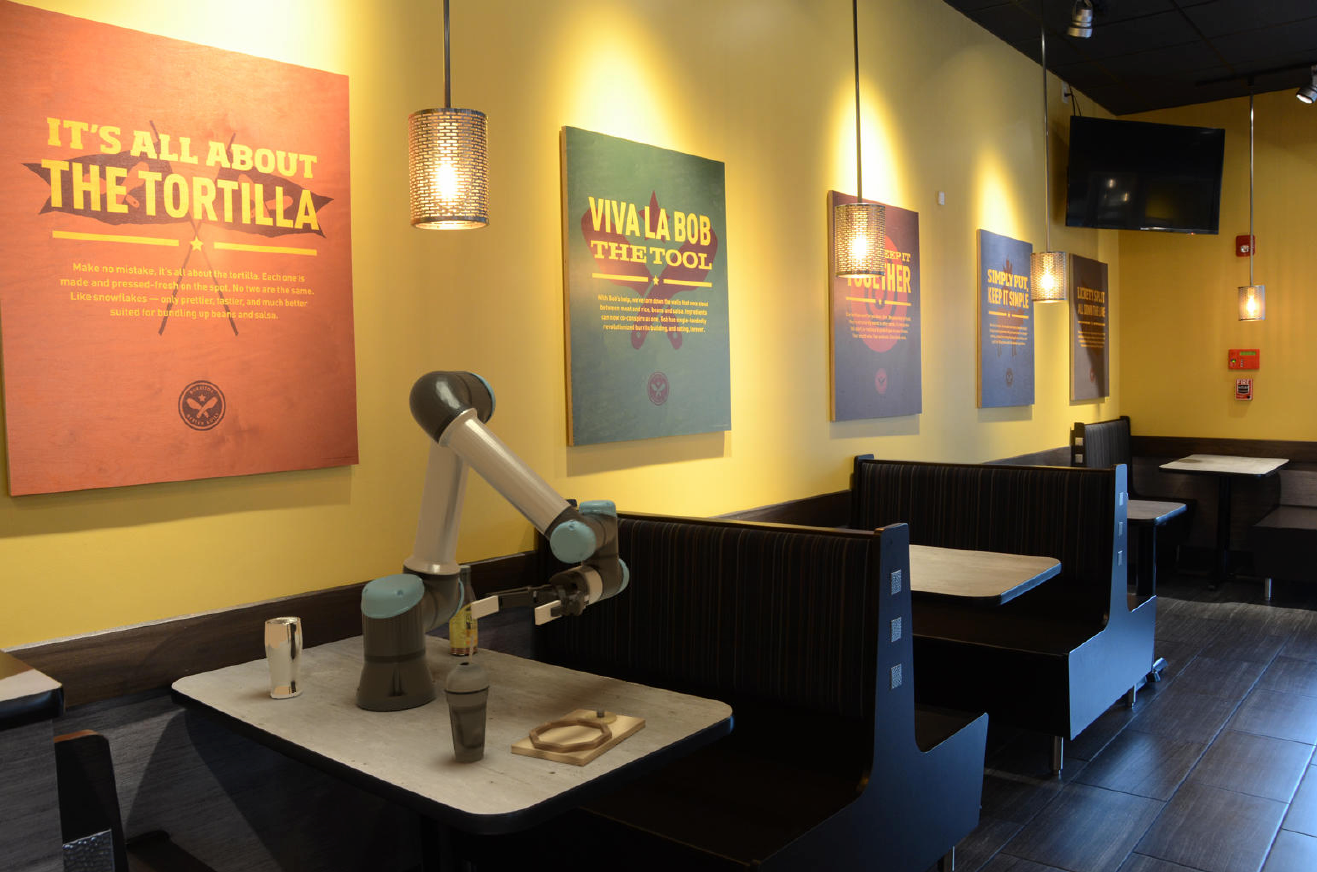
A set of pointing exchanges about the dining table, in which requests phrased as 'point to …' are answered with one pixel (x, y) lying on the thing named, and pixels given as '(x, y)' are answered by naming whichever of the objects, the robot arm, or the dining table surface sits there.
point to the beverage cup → (467, 708)
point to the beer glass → (284, 654)
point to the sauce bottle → (464, 618)
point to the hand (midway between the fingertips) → (504, 613)
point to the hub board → (578, 736)
